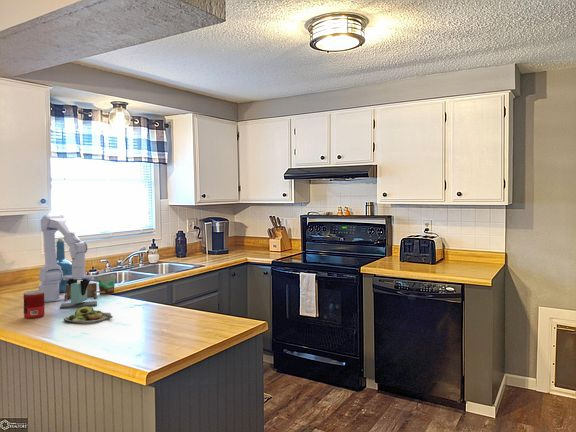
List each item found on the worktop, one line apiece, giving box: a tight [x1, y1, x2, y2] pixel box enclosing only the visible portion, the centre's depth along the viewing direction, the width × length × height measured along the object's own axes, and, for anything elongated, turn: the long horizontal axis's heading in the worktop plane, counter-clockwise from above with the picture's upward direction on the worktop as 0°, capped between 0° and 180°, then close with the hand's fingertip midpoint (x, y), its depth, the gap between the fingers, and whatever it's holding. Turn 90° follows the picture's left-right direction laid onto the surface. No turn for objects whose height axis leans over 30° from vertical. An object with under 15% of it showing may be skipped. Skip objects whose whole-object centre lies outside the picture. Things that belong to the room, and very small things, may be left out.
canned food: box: [23, 289, 45, 320], centre depth 201 cm, size 8×8×11 cm
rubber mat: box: [59, 300, 98, 310], centre depth 223 cm, size 16×8×1 cm, turn 112°
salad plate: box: [63, 306, 114, 325], centre depth 197 cm, size 19×18×5 cm
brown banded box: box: [64, 282, 98, 302], centre depth 241 cm, size 15×9×7 cm, turn 112°
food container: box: [97, 273, 117, 295], centre depth 256 cm, size 12×6×10 cm, turn 168°
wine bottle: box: [47, 238, 72, 294], centre depth 262 cm, size 14×13×30 cm
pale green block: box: [70, 281, 88, 303], centre depth 223 cm, size 4×8×9 cm, turn 177°
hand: (78, 294), depth 223 cm, fingers closed on pale green block, 4 cm apart
